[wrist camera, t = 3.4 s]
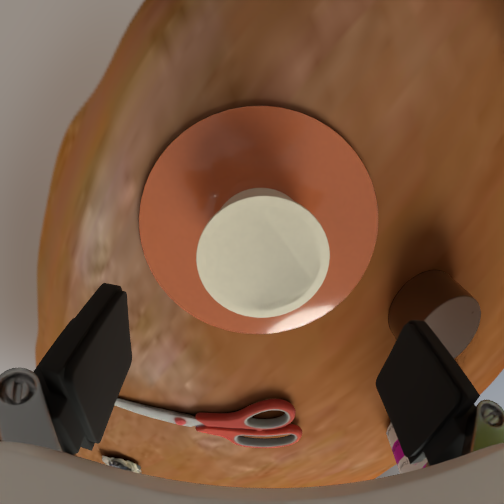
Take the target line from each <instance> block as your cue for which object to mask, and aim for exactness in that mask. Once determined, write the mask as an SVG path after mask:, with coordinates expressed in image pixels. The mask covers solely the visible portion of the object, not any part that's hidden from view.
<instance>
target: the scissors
mask: <svg viewBox="0 0 504 504" xmlns="http://www.w3.org/2000/svg"><path fill="white" fill-rule="evenodd" d="M115 405H116V406H118V407H121V408H124V409H127V410H129V411H132V412H135V413H138V414H142V415H145V416H148V417H151V418H155V419H159V420H162V421H167V422H170V423H175V424H178V425H183V426H188V427H191V426H196V430H197V431H199V432H203V433H208V434H213V435H218V436H221V437H224V438H226V439H228V440H230V441H231V442H233V443H234V444H236V445H240V446H244V447H253V448H275V447H283V446H288V445H292V444H294V443H296V442H297V441H298V440H299V439H300V438H301V436H302V430H301V428H300V427H299V426H297V425H294V424H289V423H290V422H292V420H293V419H294V417H295V408H294V406H293V405H292V404H291V403H289V402H288V401H286V400H282V399H268V400H263V401H260V402H257V403H254V404H252V405H250V406H248V407H245V408H244V409H242V410H239V411H237V412H232V413H197V414H196V416H195V417H194V416H191V415H189V414H183V413H178V412H175V411H170V410H165V409H161V408H156V407H152V406H148V405H143V404H140V403H135V402H131V401H128V400H124V399H120V398H117V400H116V402H115ZM270 410H280V411H283V412H285V414H284V415H283V416H280V417H277V418H273V419H255V418H251V417H252V416H254V415H256V414H258V413H261V412H265V411H270ZM286 434H291V435H289V436H285V437H279V438H267V439H263V438H249V437H243V436H241V435H246V436H277V435H286Z"/></svg>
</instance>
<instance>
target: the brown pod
mask: <svg viewBox="0 0 504 504" xmlns="http://www.w3.org/2000/svg"><path fill="white" fill-rule="evenodd" d="M480 316H481V311H480V306H479V304H478V302H477V301H476V300H475V299H474V298H473V297H472V296H471V295H470V294H469V293H468V292H467V291H466V290H465V289H464V288H463V287H462V286H461V285H460V284H458V283H457V282H456V281H455V280H454V279H453V278H452V277H451V276H450V275H448V274H447V273H445V272H443V271H439V270H431V271H426V272H424V273H421V274H419V275H417V276H416V277H414V278H412V279H411V280H410V281H409V282H407V283H406V284H405V285H404V286H403V287H402V289H401V290H400V291H399V292H398V294H397V295H396V297H395V299H394V300H393V303H392V305H391V308H390V311H389V318H388V320H389V327H390V329H391V331H392V333H393V335H394V336H395V338H396V339H397V338H398V336H399V334H400V332H401V330H402V328H403V326H404V325H405V324H407V323H408V322H409V321H410V320H421V321H425V322H426V323H427V324H428V325H429V327H430V328H431V329H432V331H433V332H434V333H435V334H436V336H437V337H438V338H439V340H440V341H441V342H442V344H443V345H444V346H445V347H446V349H447V350H448V351H449V353H450V354H451V356H452V357H453V358H455V357H457V356H458V355H459V354H460V353H461V352H462V351H463V350H464V349H465V348H466V347H467V345H468V344H469V343H470V341H471V340H472V338H473V337H474V335H475V333H476V331H477V328H478V326H479V322H480Z"/></svg>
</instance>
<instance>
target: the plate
mask: <svg viewBox="0 0 504 504" xmlns="http://www.w3.org/2000/svg"><path fill="white" fill-rule="evenodd" d="M253 188H269V189H274V190H277V191H280V192H282V193H284V194H286V195H287V196H289V197H290V198H291V199H292V200H294V201H295V202H297V203H299V204H300V205H302V206H303V207H305V208H306V209H307V210H309V211H310V212H311V213H312V214H313V215H314V216H315V218H316V219H317V220H318V222H319V223H320V224H321V226H322V228H323V230H324V231H325V234H326V237H327V239H328V244H329V251H330V260H329V267H328V271H327V274H326V277H325V279H324V281H323V283H322V285H321V286H320V288H319V289H318V291H317V292H316V293H315V294H314V296H313V297H312V298H311V299H310V300H308V301H307V302H306V303H305V304H303V305H302V306H300V307H299V308H297V309H295V310H293V311H291V312H289V313H286V314H283V315H279V316H275V317H267V318H257V317H249V316H244V315H241V314H237V313H235V312H233V311H230V310H229V309H227V308H225V307H223V306H222V305H221V304H219V303H218V302H217V301H216V300H215V299H214V298H213V297H212V296H211V295H210V294H209V293H208V291H207V290H206V289H205V287H204V285H203V284H202V281H201V279H200V277H199V273H198V270H197V263H196V252H197V246H198V242H199V239H200V236H201V234H202V232H203V230H204V228H205V226H206V225H207V223H208V222H209V220H210V219H211V218H212V217H213V216H214V215H215V214H216V213H217V212H218V211H219V210H220V209H221V208H222V206H223V205H224V204H225V203H226V202H227V201H228V200H229V199H230V198H231V197H233V196H234V195H236V194H238V193H240V192H242V191H245V190H248V189H253ZM139 232H140V238H141V244H142V248H143V252H144V255H145V258H146V261H147V263H148V265H149V267H150V269H151V272H152V274H153V275H154V277H155V278H156V280H157V282H158V283H159V285H160V286H161V287H162V289H163V290H164V291H165V292H166V293H167V295H168V296H169V297H170V298H171V299H172V300H173V301H174V302H175V303H176V304H178V305H179V306H180V307H181V308H182V309H184V310H185V311H186V312H188V313H189V314H191V315H192V316H194V317H196V318H198V319H199V320H201V321H203V322H205V323H208V324H210V325H212V326H215V327H218V328H221V329H224V330H228V331H233V332H238V333H246V334H270V333H277V332H283V331H287V330H291V329H295V328H298V327H300V326H303V325H305V324H308V323H310V322H312V321H314V320H316V319H318V318H320V317H322V316H323V315H325V314H326V313H328V312H329V311H331V310H332V309H334V308H335V307H336V306H337V305H338V304H339V303H340V302H342V301H343V300H344V299H345V298H346V297H347V296H348V295H349V293H350V292H351V291H352V290H353V289H354V288H355V286H356V285H357V283H358V282H359V281H360V279H361V278H362V276H363V274H364V272H365V270H366V269H367V267H368V265H369V262H370V259H371V257H372V254H373V252H374V247H375V243H376V239H377V232H378V206H377V200H376V194H375V190H374V187H373V184H372V181H371V178H370V176H369V174H368V172H367V170H366V168H365V166H364V164H363V162H362V161H361V159H360V158H359V156H358V155H357V153H356V152H355V151H354V149H353V148H352V147H351V146H350V145H349V144H348V143H347V142H346V141H345V140H344V139H343V138H342V137H341V136H340V135H339V134H337V133H336V132H335V131H334V130H333V129H331V128H330V127H328V126H327V125H325V124H323V123H322V122H320V121H318V120H317V119H315V118H312V117H310V116H308V115H305V114H303V113H301V112H297V111H294V110H290V109H286V108H281V107H273V106H245V107H239V108H234V109H229V110H226V111H223V112H220V113H217V114H214V115H211V116H209V117H207V118H205V119H203V120H201V121H199V122H197V123H195V124H194V125H192V126H191V127H190V128H188V129H187V130H185V131H184V132H182V133H181V134H180V135H179V136H178V137H177V138H176V139H175V140H174V141H173V142H172V143H170V144H169V146H168V147H167V148H166V149H165V151H164V152H163V153H162V154H161V156H160V157H159V158H158V160H157V162H156V163H155V165H154V167H153V168H152V170H151V172H150V174H149V177H148V179H147V182H146V184H145V187H144V190H143V194H142V198H141V203H140V212H139Z"/></svg>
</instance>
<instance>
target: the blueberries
mask: <svg viewBox="0 0 504 504" xmlns="http://www.w3.org/2000/svg"><path fill="white" fill-rule="evenodd" d="M102 457H103V458H102V461H104V462H105V464H106V465H108V466H112V467H115V468H119V469H123V470H127V471H131V472H135V473H140V472H141V471H140V467H141V466H139V465H137V464H134V463H133V462H130V461H129V460H127V461H124V459H120V458H118V459H115V458H114V457H113V458H112V457H111V458H109V457H107V456H102ZM139 471H140V472H139ZM140 474H141V473H140Z"/></svg>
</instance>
